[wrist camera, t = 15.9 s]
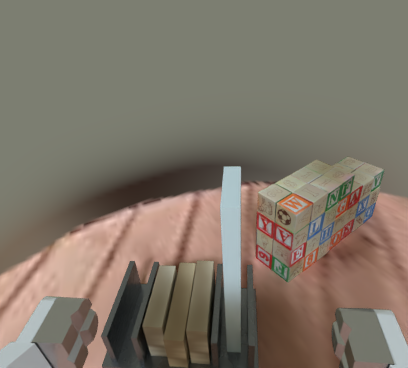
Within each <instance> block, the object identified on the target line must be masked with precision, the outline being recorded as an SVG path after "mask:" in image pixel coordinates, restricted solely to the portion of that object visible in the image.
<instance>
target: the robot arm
mask: <svg viewBox="0 0 408 368" xmlns="http://www.w3.org/2000/svg"><path fill="white" fill-rule="evenodd" d="M91 306H92V303H91V301H90V300H89V298H68V297H49V296H46V297H44V298H43V299H42V300H41V301H40V303H39V304H38V306H37V308H36V309H35V311H34V313H33V314H32V316H31V317H30V319H29V321H28V322H27V324H26V326H25V327H24V329H23V330H22V332H21V334H20V335H19V337H18V339H17V340H16V342H10V343H9V344H8V345H7V346H5V347H4V348H3V349H1V350H0V368H83V365H84V363H85V360H86V358H87V356H88V350H87V346H88V345H89V344H90V343H91V342H92V341H93V340H94V338H95V335H96V333H97V328H98V316H97V314H96V312H95V311H93V310H92V309H90V308H91ZM335 316H336V320H337V321H335V322H334V323H333V325H332V343H333V348H334V353H335V355H336V356H337V357H338V358H339V359H340V360H341V361H340V365H339V368H408V345H407V343H406V340H405V338H404V336H403V334H402V331H401V329H400V327H399V324H398V322H397V320H396V317H395V315H394V313H393V312H392V311H391V310H386V309H365V308H338V309H336V313H335Z"/></svg>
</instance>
